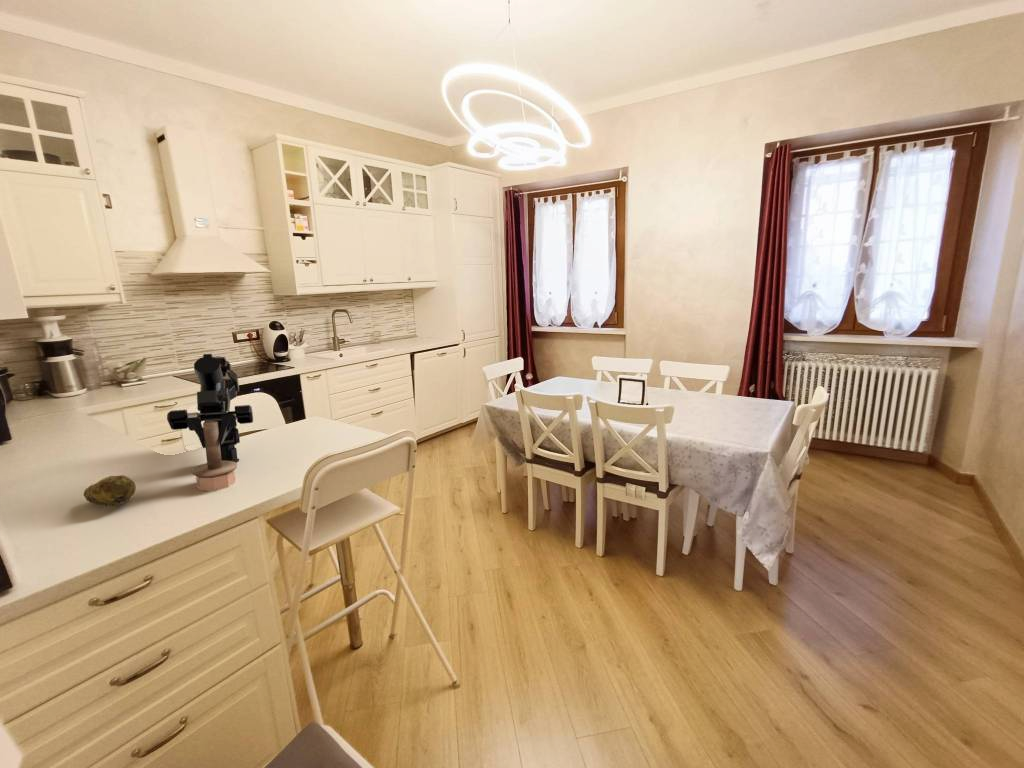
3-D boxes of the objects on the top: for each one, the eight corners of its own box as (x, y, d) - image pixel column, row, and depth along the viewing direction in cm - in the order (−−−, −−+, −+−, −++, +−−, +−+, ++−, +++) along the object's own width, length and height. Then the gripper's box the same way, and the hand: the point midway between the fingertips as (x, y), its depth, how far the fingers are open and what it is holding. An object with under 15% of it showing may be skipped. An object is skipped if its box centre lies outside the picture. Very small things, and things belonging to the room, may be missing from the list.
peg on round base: (182, 476, 114) (177, 428, 111) (207, 462, 123) (203, 417, 121) (223, 476, 114) (218, 428, 112) (244, 462, 124) (240, 418, 121)
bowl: (191, 490, 115) (189, 477, 115) (210, 478, 123) (209, 466, 122) (222, 490, 116) (221, 478, 115) (240, 478, 123) (239, 466, 123)
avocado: (128, 492, 113) (124, 462, 112) (141, 508, 105) (137, 476, 104) (83, 503, 107) (78, 472, 105) (94, 520, 99) (88, 487, 97)
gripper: (164, 380, 113) (159, 433, 106) (248, 376, 122) (250, 425, 114) (173, 403, 122) (170, 455, 114) (252, 398, 130) (254, 445, 123)
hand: (211, 444), depth 116 cm, fingers open, 4 cm apart
